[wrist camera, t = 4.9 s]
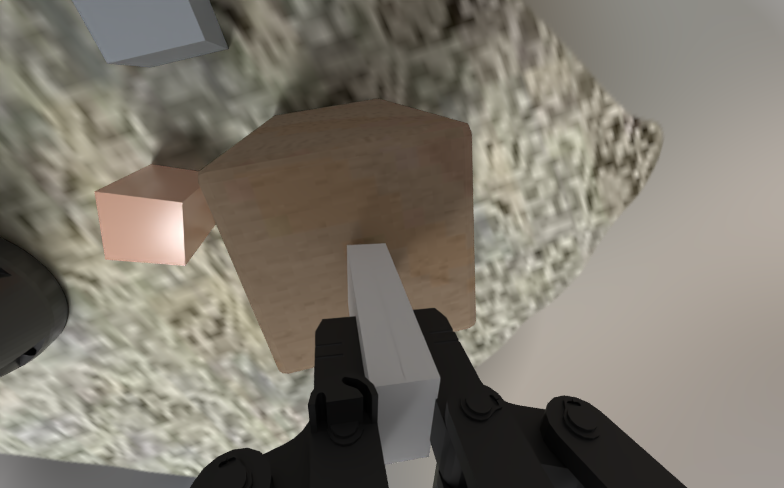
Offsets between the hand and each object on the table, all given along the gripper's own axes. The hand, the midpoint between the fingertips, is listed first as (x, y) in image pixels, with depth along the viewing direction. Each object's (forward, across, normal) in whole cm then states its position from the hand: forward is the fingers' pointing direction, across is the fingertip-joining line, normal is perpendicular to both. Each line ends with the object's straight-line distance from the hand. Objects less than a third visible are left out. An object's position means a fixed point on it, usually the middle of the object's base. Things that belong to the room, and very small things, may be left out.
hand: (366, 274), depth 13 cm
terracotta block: (+21, -14, -3) cm, 25 cm away
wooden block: (+21, 0, 0) cm, 21 cm away
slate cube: (+21, -12, +11) cm, 26 cm away
